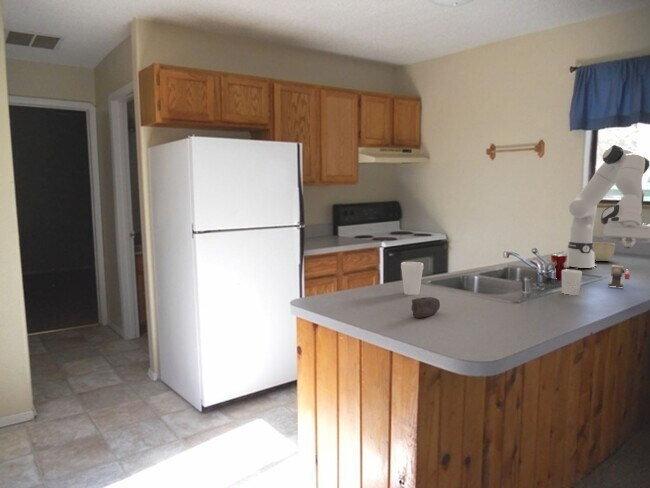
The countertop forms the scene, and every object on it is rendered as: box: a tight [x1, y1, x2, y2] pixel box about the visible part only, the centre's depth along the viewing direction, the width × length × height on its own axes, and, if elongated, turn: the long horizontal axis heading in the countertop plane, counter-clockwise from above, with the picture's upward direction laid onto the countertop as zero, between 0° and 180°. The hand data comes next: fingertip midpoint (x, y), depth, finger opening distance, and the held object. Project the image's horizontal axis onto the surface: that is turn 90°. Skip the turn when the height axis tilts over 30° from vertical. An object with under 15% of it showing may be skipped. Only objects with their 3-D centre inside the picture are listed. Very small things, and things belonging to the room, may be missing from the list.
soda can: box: [550, 253, 568, 281], centre depth 246 cm, size 7×7×12 cm
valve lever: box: [624, 268, 630, 280], centre depth 221 cm, size 2×2×16 cm
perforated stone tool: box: [410, 296, 441, 319], centre depth 177 cm, size 15×5×7 cm, turn 129°
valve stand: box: [608, 264, 625, 288], centre depth 229 cm, size 10×6×9 cm, turn 150°
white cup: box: [561, 268, 583, 295], centre depth 212 cm, size 8×8×10 cm
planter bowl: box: [592, 241, 616, 262], centre depth 301 cm, size 16×16×11 cm
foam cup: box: [400, 261, 424, 296], centre depth 213 cm, size 10×9×13 cm
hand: (628, 247), depth 218 cm, fingers closed
